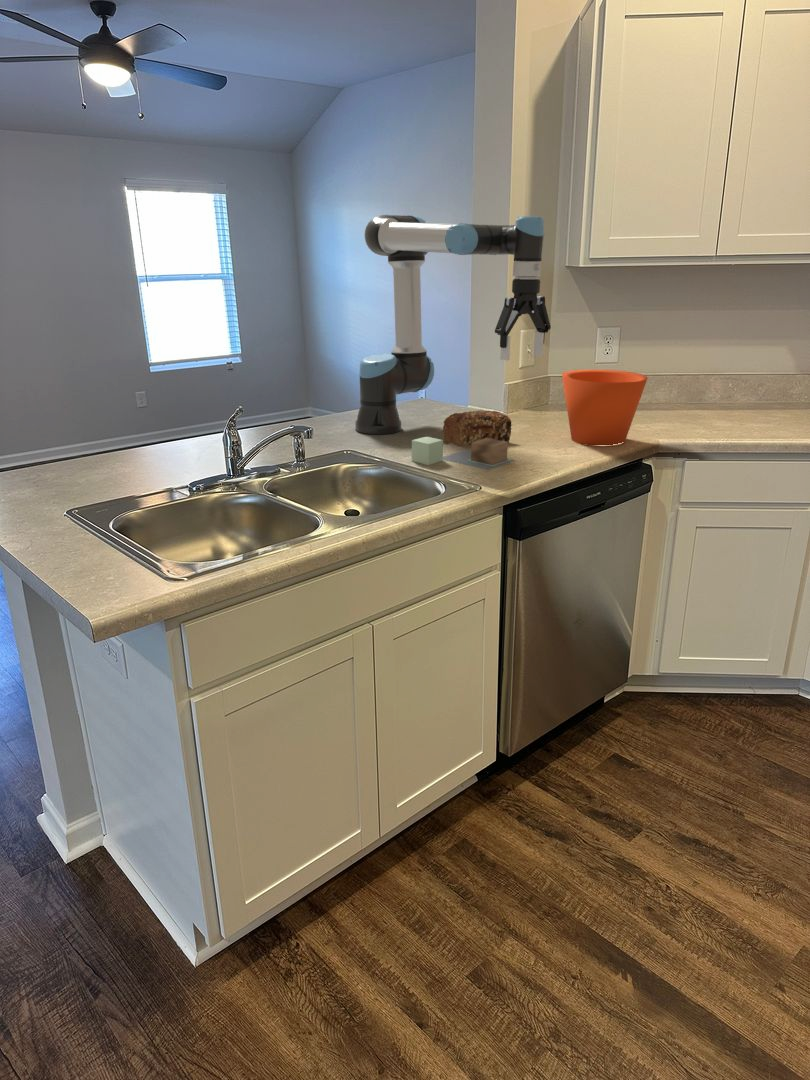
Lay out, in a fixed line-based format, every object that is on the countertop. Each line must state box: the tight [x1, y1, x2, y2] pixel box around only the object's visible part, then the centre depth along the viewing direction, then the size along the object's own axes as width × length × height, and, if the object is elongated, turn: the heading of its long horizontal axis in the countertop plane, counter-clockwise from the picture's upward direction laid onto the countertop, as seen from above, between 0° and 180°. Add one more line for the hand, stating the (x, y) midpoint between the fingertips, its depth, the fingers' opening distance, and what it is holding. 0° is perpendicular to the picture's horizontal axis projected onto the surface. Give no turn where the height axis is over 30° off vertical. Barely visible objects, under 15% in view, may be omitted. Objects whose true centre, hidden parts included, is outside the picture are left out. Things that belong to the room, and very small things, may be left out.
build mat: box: [443, 449, 517, 471], centre depth 204 cm, size 17×13×1 cm
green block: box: [411, 436, 444, 466], centre depth 202 cm, size 6×6×7 cm
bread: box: [442, 409, 512, 447], centre depth 225 cm, size 19×11×10 cm, turn 117°
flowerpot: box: [561, 369, 649, 446], centre depth 227 cm, size 25×25×20 cm
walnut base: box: [470, 438, 509, 465], centre depth 202 cm, size 7×7×5 cm
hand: (521, 357), depth 210 cm, fingers open, 13 cm apart
